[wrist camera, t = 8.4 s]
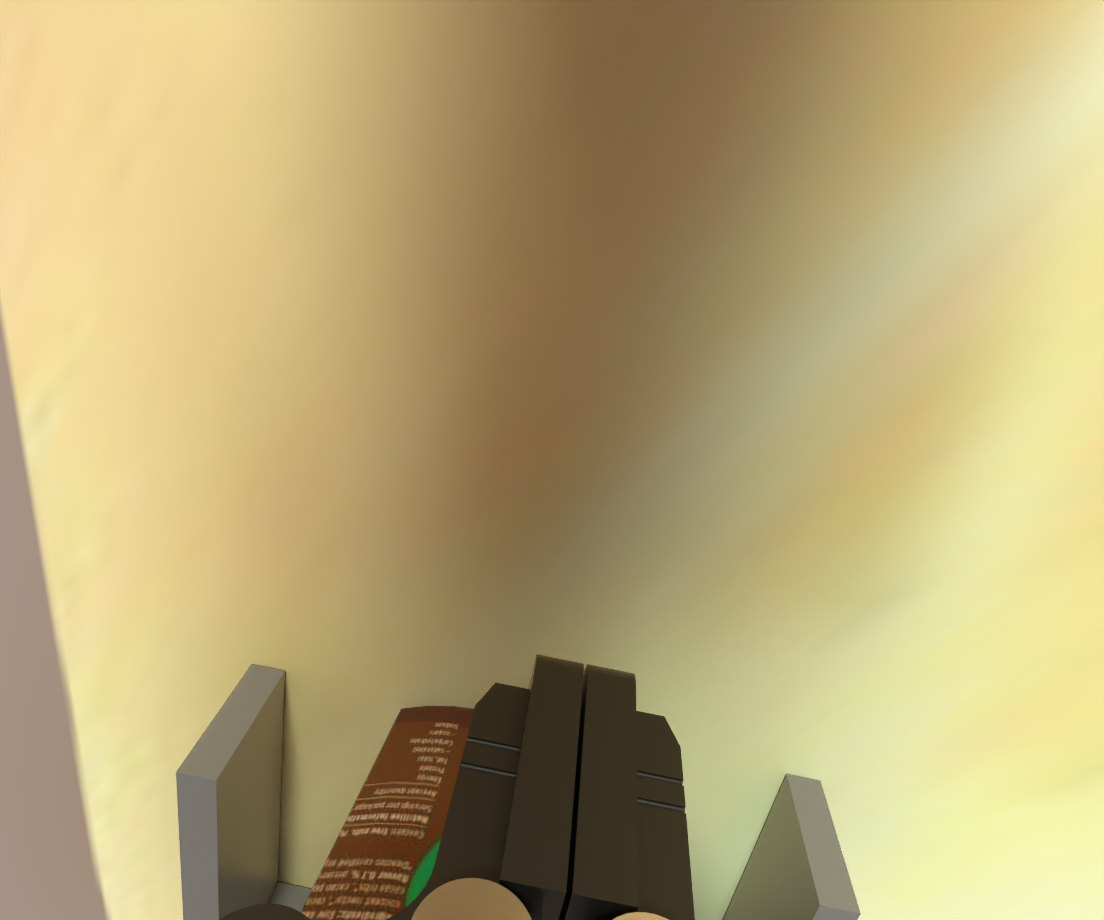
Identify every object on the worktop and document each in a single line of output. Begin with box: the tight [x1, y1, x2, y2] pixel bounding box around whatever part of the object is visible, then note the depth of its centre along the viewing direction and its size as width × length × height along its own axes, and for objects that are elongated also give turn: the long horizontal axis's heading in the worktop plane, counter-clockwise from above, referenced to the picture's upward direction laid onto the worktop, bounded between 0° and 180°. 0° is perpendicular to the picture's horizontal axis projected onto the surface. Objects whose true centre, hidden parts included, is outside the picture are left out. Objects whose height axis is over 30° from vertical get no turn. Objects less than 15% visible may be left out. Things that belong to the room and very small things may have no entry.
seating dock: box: [176, 664, 860, 920], centre depth 22 cm, size 10×17×4 cm, turn 80°
